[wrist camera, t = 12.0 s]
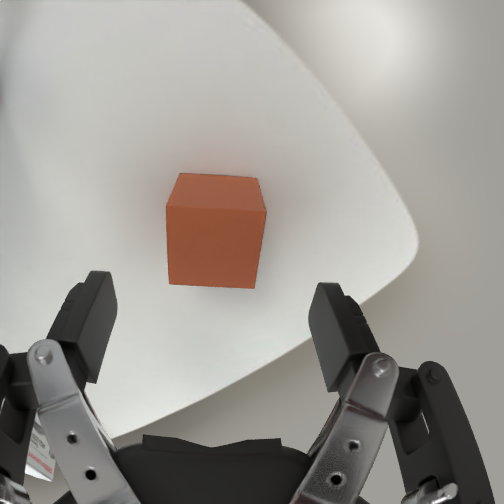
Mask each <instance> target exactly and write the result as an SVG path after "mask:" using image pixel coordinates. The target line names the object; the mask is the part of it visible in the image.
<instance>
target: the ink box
mask: <svg viewBox="0 0 504 504" xmlns="http://www.w3.org/2000/svg"><path fill="white" fill-rule="evenodd" d="M3 402H4V400H3ZM2 406H3V403H2ZM2 406H1V409H2ZM1 409H0V412H1ZM39 409H40V408H39ZM37 410H38V409H37ZM54 467H55V458H54V456H53V454H52V451H51V449H50V447H49V444H48V442H47V439H46V437H45V434H44V432H43V429H42V426H41V424H40V421H39V418H38V414H37V413H36V417H35V421H34V425H33V430H32V435H31V439H30V445H29V450H28V456H27V462H26V468H25V473H26V474H29V475H32V476H34V477H37V478H41V479H45V480H48V481H53V474H54Z"/></svg>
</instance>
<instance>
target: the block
mask: <svg viewBox="0 0 504 504" xmlns="http://www.w3.org/2000/svg"><path fill="white" fill-rule="evenodd" d="M265 219H266V208H265V205H264V201H263V197H262V194H261V190H260V186H259V183H258V179H257V178H249V177H236V176H222V175H206V174H186V173H180V174H179V177H178V179H177V181H176V183H175V186H174V188H173V190H172V193H171V195H170V197H169V200H168V202H167V205H166V232H167V257H168V275H169V284H173V285H190V286H208V287H228V288H251V289H254V288H255V282H256V276H257V270H258V263H259V257H260V251H261V244H262V238H263V231H264V225H265Z"/></svg>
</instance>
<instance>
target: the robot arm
mask: <svg viewBox="0 0 504 504" xmlns="http://www.w3.org/2000/svg"><path fill="white" fill-rule="evenodd" d="M116 316H117V299H116V295H115V290H114V285H113V280H112V276H111V273H110V272H105V271H91V272H90V273H89V275H88V277H87V279H86V280H85V282H84V283H78V284H77V285H76V286H75V287H73V288H72V289H71V290H70V292H69V293H68V295H67V297H66V299H65V302H64V303H63V305H62V307H61V310H60V311H59V313H58V315H57V317H56V319H55V321H54V323H53V325H52V327H51V329H50V331H49V333H48V335H47V337H46V339H43V340H40V341H37V342H36V343H34V344H33V345H32V346H31V347H30V349H29V350H28V352H25V353H15V354H9V353H8V351H7V350H6V348H5V347H4V346H3V345H1V344H0V409H1V406H2V403H3V406H2V409H1V412H0V504H32V503H31V501H30V498H29V495H28V493H27V491H26V490H25V489H24V488H23V483H24V475H25V468H26V462H27V456H28V450H29V445H30V439H31V435H32V430H33V425H34V421H35V417H36V413H37V414H38V418H39V421H40V424H41V426H42V429H43V432H44V434H45V437H46V439H47V442H48V444H49V447H50V449H51V451H52V454H53V456H54V458H55V461H56V463H57V465H58V467H59V469H60V471H61V473H62V475H63V477H64V479H65V481H66V483H67V485H68V487H69V489H70V490H69V491H68V492H66V493H65V494H64V495H63V496H62V497H61V498H59V499H58V500H57V501H56V502H55V503H53V504H370V503H368V502H367V501H366V500H364V499H363V498H362V497H360V496H359V494H360V492H361V490H362V488H363V486H364V483H365V481H366V479H367V477H368V475H369V473H370V470H371V468H372V466H373V463H374V461H375V458H376V456H377V454H378V451H379V449H380V446H381V444H382V441H383V438H384V435H385V433H386V430H387V427H388V425H389V428H390V432H391V435H392V439H393V443H394V446H395V450H396V454H397V458H398V462H399V466H400V470H401V474H402V478H403V483H404V487H405V492H406V495H405V496H404V498H403V499H402V501H401V504H495V501H494V497H493V493H492V489H491V486H490V482H489V479H488V476H487V472H486V469H485V466H484V463H483V460H482V457H481V454H480V451H479V448H478V445H477V442H476V440H475V437H474V434H473V431H472V429H471V426H470V424H469V421H468V419H467V416H466V414H465V411H464V409H463V406H462V404H461V402H460V399H459V397H458V395H457V392H456V390H455V388H454V386H453V383H452V381H451V379H450V377H449V375H448V373H447V371H446V370H445V368H444V367H443V366H441V365H440V364H438V363H436V362H433V361H427V362H424V363H423V364H421V366H420V367H419V368H418V370H416V369H409V368H404V367H399V366H398V365H397V363H396V362H395V360H394V359H393V358H392V357H390V356H389V355H387V354H385V353H381V352H380V350H379V347H378V345H377V343H376V341H375V339H374V336H373V334H372V332H371V330H370V328H369V326H368V324H367V323H366V322H367V321H366V319H365V317H364V316H363V313H362V311H361V309H360V307H359V305H358V304H357V303H356V302H355V301H354V300H353V299H352V298H351V297H350V296H345V295H344V293H343V291H342V289H341V287H340V285H339V284H338V283H322V282H320V283H318V285H317V288H316V291H315V294H314V297H313V301H312V304H311V307H310V310H309V316H308V322H309V327H310V331H311V334H312V337H313V341H314V344H315V348H316V351H317V355H318V358H319V362H320V365H321V369H322V372H323V376H324V380H325V383H326V387H327V390H328V392H336V391H338V393H339V396H340V398H339V399H338V401H337V403H336V404H335V407H334V408H333V410H332V412H331V414H330V416H329V418H328V420H327V421H326V423H325V425H324V427H323V429H322V430H321V432H320V434H319V436H318V437H317V439H316V441H315V442H314V443H313V445H312V446H311V448H310V449H309V451H308V453H307V454H305V453H303V452H301V451H299V450H296V449H293V448H289V447H285V446H282V444H281V438H276V439H258V440H244V441H241V442H236V443H232V444H228V445H223V446H219V447H206V446H202V445H199V444H195V443H192V442H188V441H185V440H182V439H178V438H172V437H161V436H151V435H143V440H142V442H140V443H135V444H130V445H127V446H125V447H122V448H120V449H118V450H117V449H116V447H115V445H114V444H113V442H112V441H111V439H110V438H109V436H108V434H107V433H106V431H105V429H104V428H103V426H102V424H101V422H100V420H99V418H98V417H97V415H96V413H95V411H94V409H93V407H92V405H91V403H90V401H89V399H88V397H87V395H86V392H85V391H84V389H85V386H86V382H89V383H95V384H96V383H97V379H98V375H99V372H100V368H101V365H102V361H103V358H104V354H105V351H106V348H107V344H108V341H109V338H110V335H111V332H112V329H113V326H114V322H115V319H116ZM3 400H4V402H3ZM39 408H40V409H39ZM37 409H38V410H37ZM422 413H423V415H424V418H425V420H426V423H427V426H428V429H429V433H428V430H427V428H426V425H425V422H424V419H423V416H422Z"/></svg>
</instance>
